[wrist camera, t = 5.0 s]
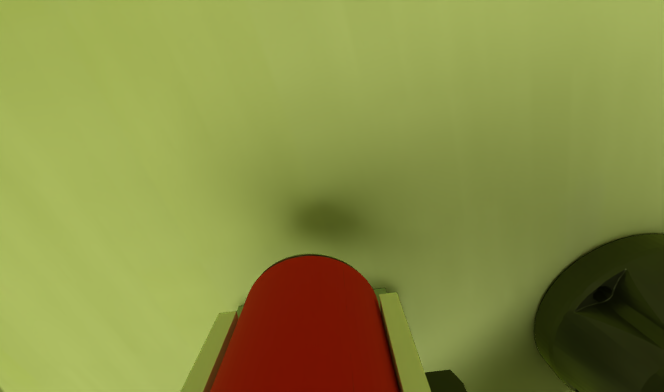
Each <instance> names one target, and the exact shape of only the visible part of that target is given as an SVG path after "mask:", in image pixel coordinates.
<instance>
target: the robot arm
mask: <svg viewBox="0 0 664 392" xmlns="http://www.w3.org/2000/svg"><path fill="white" fill-rule="evenodd" d="M379 300H380V310H381V315H382V319H383V323H384V328H385V332H386V336H387V340H388V344H389V348H390V353H391V357H392V361H393V365H394V369H395V373H396V377H397V382H398V386H399V390H400V392H467V391H466V389H465V387H464V384H463V383H462V382H461V381H460V380H459V379H458V377H457V376H456V375H455V374H454V373H453V372H452V371H451V370H444V371H435V372H426V373H425V372H424V370H423V367H422V364H421V361H420V358H419V355H418V352H417V349H416V346H415V343H414V341H413V338H412V335H411V332H410V329H409V326H408V323H407V320H406V317H405V314H404V312H403V309H402V306H401V303H400V300H399V297H398V294H397V292H395V293H386V294H379ZM238 319H239V318H238V315H237V311H233V312H225V313H219V314H218V317H217V319H216V321H215V323H214V325H213V327H212V329H211V331H210V333H209V335H208V337H207V339H206V341H205V343H204V345H203V347H202V349H201V351H200V353H199V355H198V357H197V359H196V361H195V363H194V365H193V367H192V369H191V371H190V373H189V376H188V378H187V380H186V382H185V384H184V386H183V388H182V390H181V392H210V390H211V388H212V385H213V383H214V380H215V378H216V375H217V373H218V370H219V367H220V365H221V362H222V360H223V357H224V355H225V352H226V350H227V347H228V345H229V342H230V340H231V337H232V335H233V332H234V329H235V327H236V324H237V322H238ZM534 335H535V341H536V345H537V348H538V350H539V352H540V354H541V356H542V357H543V359H544V360H545V361H546V362H547V364H548V365H549V366H550V367H551V368H552V370H553V371H554V372H555V373H556V375H557V376H558V377H559V378H560V379H561V380H562V381H563V382H564V383H565V384H566V385H567V386H568V387H569V388H571V389H572V390H574V391H575V392H664V234H644V235H637V236H631V237H627V238H623V239H620V240H617V241H614V242H611V243H609V244H606V245H604V246H602V247H600V248H598V249H596V250H594V251H592V252H590V253H589V254H587V255H585V256H584V257H582V258H581V259H579V260H578V261H577V262H575V263H574V264H573V265H571V266H570V267H569V268H568V269H567V270H566V271H565V272H564V273H563V274H562V275H561V276H560V277H559V278H558V279H557V280H556V281H555V282H554V283H553V285H552V286H551V287H550V289H549V290H548V292H547V293H546V295H545V296H544V298H543V300H542V302H541V304H540V307H539V309H538V312H537V315H536V319H535V327H534Z"/></svg>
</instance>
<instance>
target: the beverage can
mask: <svg viewBox="0 0 664 392" xmlns="http://www.w3.org/2000/svg"><path fill="white" fill-rule="evenodd" d="M210 392H400V390H399V386H398V382H397V377H396V373H395V369H394V365H393V361H392V357H391V353H390V348H389V344H388V340H387V336H386V332H385V328H384V323H383V319H382V315H381V311H380V307H379V303H378V299H377V297H376V294H375V292H374V290H373V288H372V287H371V285H370V284H369V283H368V281H367V280H366V279H365V278H364V277H363V276H362V275H361V274H360V273H359V272H358V271H357V270H356V269H354V268H353V267H352V266H350V265H349V264H347V263H346V262H344V261H342V260H340V259H337V258H334V257H331V256H327V255H322V254H299V255H294V256H291V257H287V258H285V259H282V260H280V261H278V262H277V263H275V264H273V265H272V266H270V267H269V268H268V269H267V270H266V271H264V272H263V274H262V275H261V276H260V277H259V278H258V279H257V280H256V282H255V283H254V285H253V286H252V288H251V290H250V292H249V294H248V296H247V299H246V302H245V304H244V307H243V309H242V312H241V314H240V317H239V319H238V322H237V324H236V327H235V329H234V332H233V335H232V337H231V340H230V342H229V345H228V347H227V350H226V352H225V355H224V357H223V360H222V362H221V365H220V367H219V370H218V373H217V375H216V378H215V380H214V383H213V385H212V388H211V390H210Z"/></svg>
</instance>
